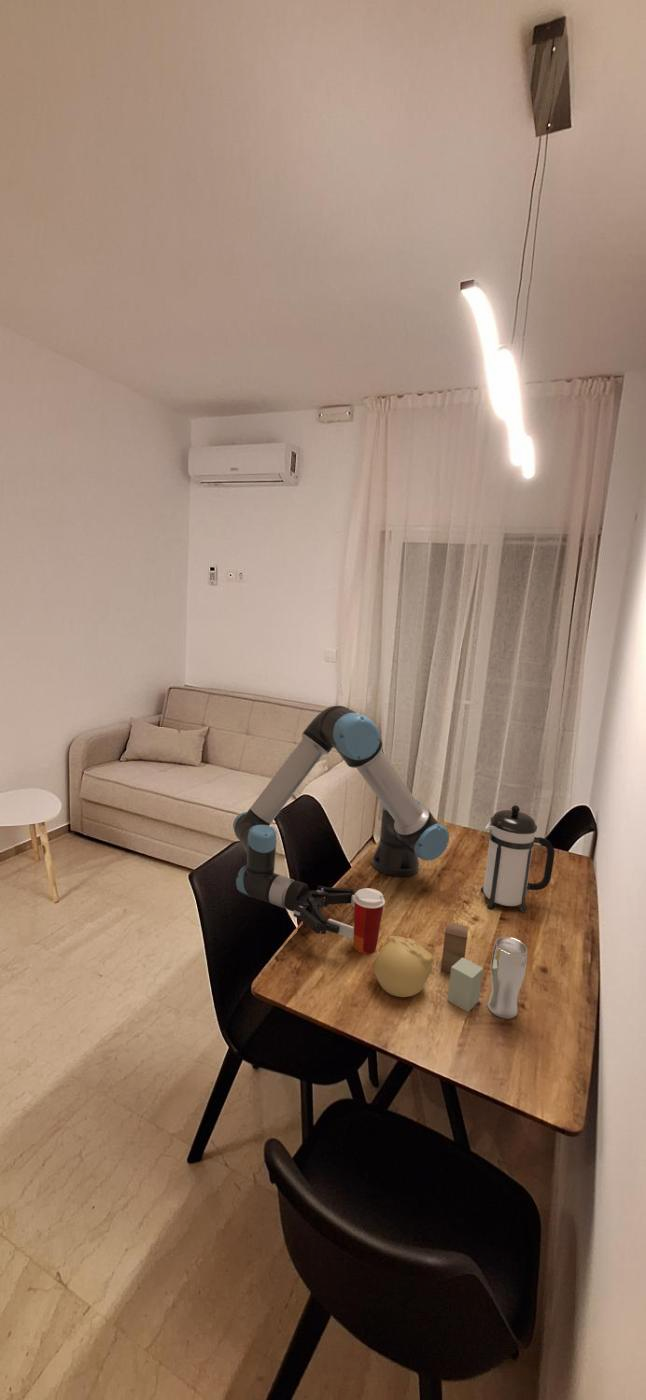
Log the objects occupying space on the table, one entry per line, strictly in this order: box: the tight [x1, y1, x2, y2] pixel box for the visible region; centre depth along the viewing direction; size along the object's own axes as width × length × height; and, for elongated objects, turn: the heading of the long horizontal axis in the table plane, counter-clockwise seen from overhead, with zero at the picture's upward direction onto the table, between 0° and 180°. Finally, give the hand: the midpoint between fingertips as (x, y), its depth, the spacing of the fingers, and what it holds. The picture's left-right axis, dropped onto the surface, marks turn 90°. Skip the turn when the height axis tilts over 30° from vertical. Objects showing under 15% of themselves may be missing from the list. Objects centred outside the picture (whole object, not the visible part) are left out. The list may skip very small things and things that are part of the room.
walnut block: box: [440, 921, 469, 975], centre depth 133 cm, size 5×5×10 cm
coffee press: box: [480, 805, 555, 914], centre depth 165 cm, size 17×16×30 cm
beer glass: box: [487, 936, 528, 1020], centre depth 120 cm, size 7×7×15 cm
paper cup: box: [353, 887, 386, 955], centre depth 139 cm, size 8×8×14 cm
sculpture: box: [374, 935, 435, 998], centre depth 125 cm, size 12×12×11 cm
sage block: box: [446, 957, 484, 1013], centre depth 123 cm, size 5×5×8 cm
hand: (364, 919), depth 138 cm, fingers open, 13 cm apart
